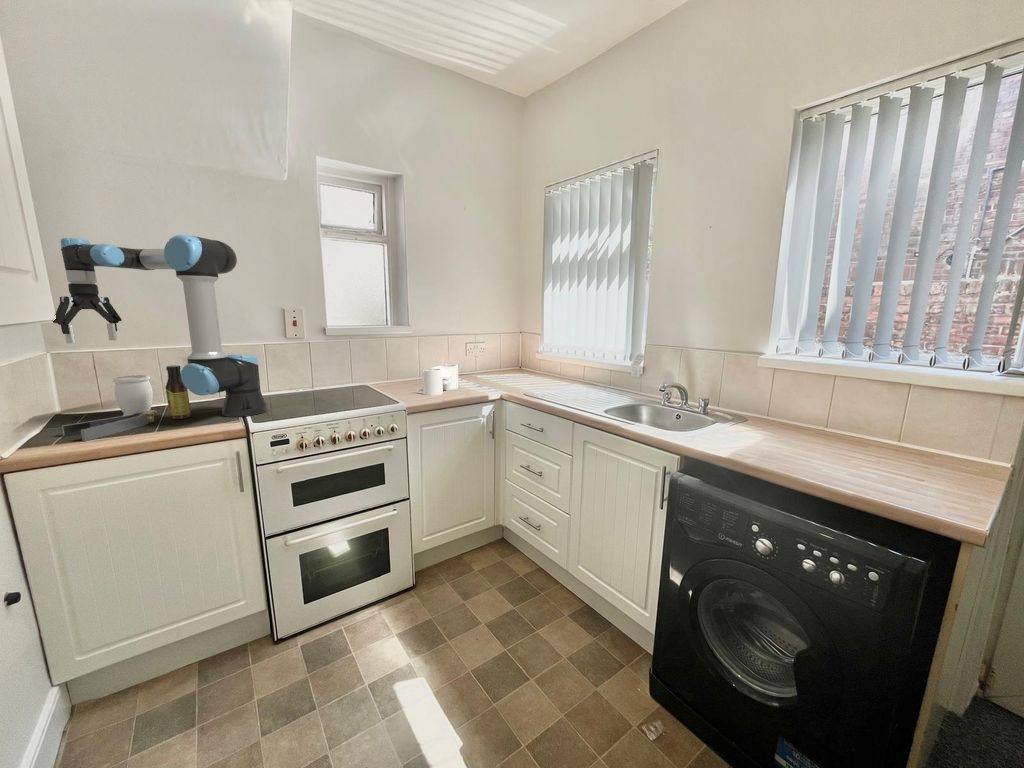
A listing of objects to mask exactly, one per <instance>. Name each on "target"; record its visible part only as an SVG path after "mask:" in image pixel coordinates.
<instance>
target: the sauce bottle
mask: <svg viewBox="0 0 1024 768" xmlns="http://www.w3.org/2000/svg"><path fill="white" fill-rule="evenodd" d="M165 369H166V372H167V382H166V385H165V393H166V399H167V401H166V402H167V407H168V412H169V416H170V418H171V419H172V420H182V419H188V418H190V417H191V415H192V414H191V404H190V399H189V392H188V391H189V389H187V388H186V387H185V385H184V384H183V382H182V379H181V370H182V369H181V365H179V364H177V365H176V364H175V365H174V364H173V365H166V367H165Z"/></svg>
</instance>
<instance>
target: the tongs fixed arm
mask: <svg viewBox="0 0 1024 768" xmlns="http://www.w3.org/2000/svg"><path fill="white" fill-rule="evenodd" d="M154 415H155V414H153V415H140V416H136V417H132V418H128V419H124V420H120V421H116V422H112V423H108V424H104V425H98V426H94V427H90V428H86V429H82V430H80V434H79V435H80V438H81V439H80V440H81V442H88V440H89V441H91V440H95V439H99V437H100V438H102V437H106V436H110V435H114V434H117V433H120V432H121V433H122V432H125V431H128V430H131V429H135V428H136V429H137V428H140V427H144V426H147V425H149V424H151V423H155V417H154Z"/></svg>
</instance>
